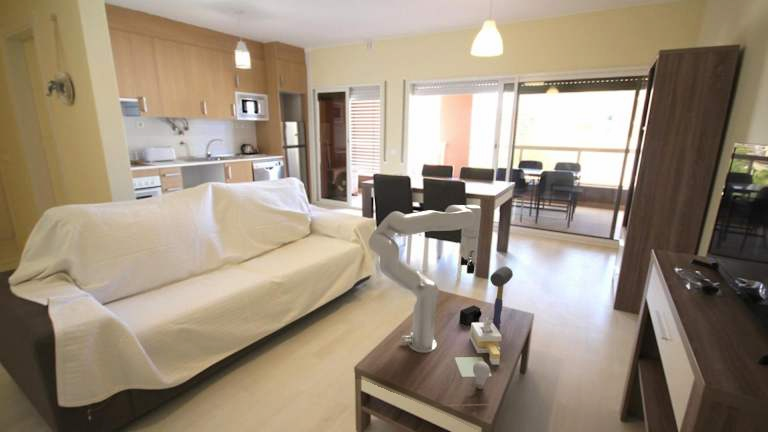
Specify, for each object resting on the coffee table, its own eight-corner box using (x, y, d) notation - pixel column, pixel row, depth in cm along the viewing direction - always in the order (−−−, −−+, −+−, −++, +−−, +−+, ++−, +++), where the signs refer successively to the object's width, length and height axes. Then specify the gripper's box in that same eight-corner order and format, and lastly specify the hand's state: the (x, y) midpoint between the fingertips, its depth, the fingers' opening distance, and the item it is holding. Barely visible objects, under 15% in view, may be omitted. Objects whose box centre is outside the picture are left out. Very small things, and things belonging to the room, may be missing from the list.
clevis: (483, 365, 146) (485, 347, 144) (469, 339, 164) (471, 322, 162) (507, 365, 146) (509, 347, 144) (490, 338, 165) (492, 322, 163)
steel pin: (481, 349, 156) (484, 321, 153) (478, 344, 161) (481, 316, 157) (491, 349, 157) (494, 321, 153) (487, 343, 161) (490, 316, 158)
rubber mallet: (498, 333, 170) (505, 275, 163) (483, 327, 175) (489, 270, 168) (508, 322, 179) (514, 267, 172) (493, 317, 184) (499, 263, 177)
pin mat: (462, 377, 138) (462, 376, 138) (454, 358, 150) (454, 357, 150) (491, 377, 139) (492, 376, 139) (481, 358, 151) (482, 357, 151)
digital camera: (467, 327, 174) (468, 314, 172) (459, 322, 178) (460, 310, 177) (481, 321, 180) (482, 309, 179) (472, 317, 184) (473, 304, 183)
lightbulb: (468, 389, 132) (471, 364, 129) (474, 380, 137) (476, 355, 134) (484, 396, 129) (487, 370, 126) (490, 387, 134) (492, 361, 131)
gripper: (456, 227, 164) (454, 262, 168) (467, 238, 147) (464, 276, 151) (472, 227, 165) (469, 262, 169) (485, 238, 148) (481, 276, 152)
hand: (467, 269), depth 160 cm, fingers open, 9 cm apart
